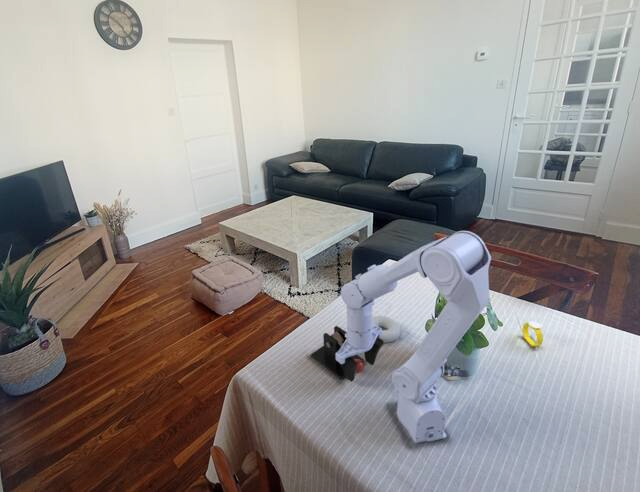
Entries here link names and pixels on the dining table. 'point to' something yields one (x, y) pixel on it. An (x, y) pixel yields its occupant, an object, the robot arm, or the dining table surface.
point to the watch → (537, 329)
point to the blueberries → (451, 373)
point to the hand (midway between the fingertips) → (359, 370)
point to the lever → (360, 364)
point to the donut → (389, 324)
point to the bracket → (331, 354)
